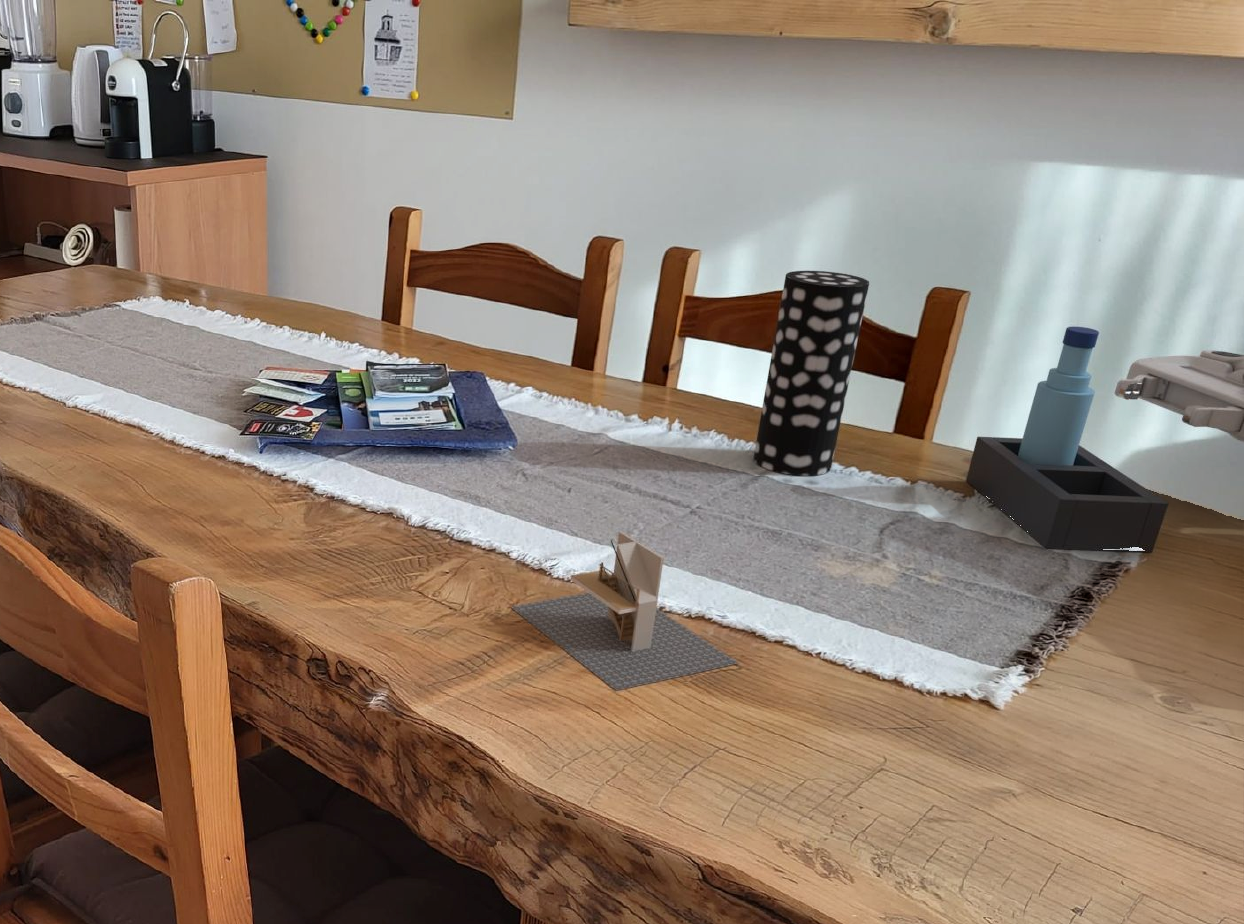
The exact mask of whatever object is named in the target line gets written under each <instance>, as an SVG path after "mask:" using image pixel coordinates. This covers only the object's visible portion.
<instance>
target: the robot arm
mask: <svg viewBox="0 0 1244 924" xmlns="http://www.w3.org/2000/svg"><path fill="white" fill-rule="evenodd" d="M1114 395H1115V396H1116V397H1118V398H1121V399H1123V400H1127V401H1129V400H1138V399H1140V400H1142V401H1145V402H1148V403H1150V404H1153V405H1155V406H1157V407H1160V408H1163V409H1166V410H1167V411H1170V412H1173V413H1176V414H1178V415H1181V416H1182V417H1181V421H1182V423H1184V424H1186V425H1188V426H1191V427H1194V428H1205V427H1206V428H1211V429H1216V430H1219V431H1222V432H1225V433H1227V434H1228V435H1230V436H1231V437H1232V438H1234V439H1235V440H1237V441H1240V442H1243V443H1244V354H1240V353H1234V352H1230V351H1229V352H1228V351H1223V350H1215V349H1212V350H1211V349H1209V350H1208V349H1206V350H1202V351H1201V352H1200V354H1199V355H1165V356H1153V357H1145V358H1144V357H1143V358H1139V359H1137V360H1134V362H1132V363H1131V365H1130V366H1129V369H1128V372H1127V375H1126V378H1125V379H1120V380H1118V382H1117V384H1116V386H1115V389H1114Z"/></svg>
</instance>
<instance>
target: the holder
mask: <svg viewBox="0 0 1244 924" xmlns="http://www.w3.org/2000/svg"><path fill="white" fill-rule="evenodd" d="M1022 439H1023V437H1019V438H1018V437H999V436H998V437H996V436H977V437H976V440H975V444H974V449H973V452H972V456H971V460H970V463H969V466H968V471H967V475H966V479H965V482H967V484H969V485H970V486H971V487H972V488H973V489H975V490H976V491H977V492H978V493H979V494H981V495H982V496H983V498H986V499H987V500H988V501H989V502H990V503H992V504H993V505H994V506H995V508H997V509H999V511H1001V512H1002V513H1003V514H1004V515H1006V516H1007V517H1008V518H1009V519H1010V520H1012V521H1013V522H1014V523H1015V524H1016V525H1017V526H1019V527H1020V528H1021V529H1022V530H1023V531H1024V532H1026V533H1027V534H1028V535H1029V536H1031V538H1033V539H1034V540H1035V541H1036V542H1038V543H1039V544H1040V545H1041V546H1043V547H1044V548H1045V549H1048V550H1052V549H1053V550H1073V551H1075V550H1080V551H1102V552H1103V551H1104V552H1127V553H1150V554H1151V553H1153V550H1154V549H1155V545H1156V542H1157V539H1158V536H1159V533H1160V530H1161V527H1162V524H1163V521H1164V518H1165V516H1166V513H1167V510H1168V507H1169V503H1168V502H1167V501H1166V500H1164V499H1163V498H1161V497H1159V496H1158V495H1157V494H1155V493H1154V492H1152V491H1150V490H1149V489H1148V488H1146V487H1144V486H1143V485H1141V484H1140V483H1138V482H1136V481H1135V480H1134V479H1132V478H1130V476H1127V475H1126V474H1124V473H1123V472H1121V471H1120V470H1118V469H1117V468H1115V467H1114V466H1112V465H1111V464H1109V463H1108V462H1106V461H1104V460H1103V459H1101V458H1099V456H1097V455H1095V454H1094V453H1092V452H1090V451H1089V450H1087V449H1086V448H1085V447H1083V446H1081V445H1080V444H1079V447H1078V450H1077V453H1076V457H1075V460H1074V463H1073V466H1070V465H1045V464H1028V463H1026V462H1025V461H1024V460H1022V459H1021V458H1020V457H1018V453H1019V450H1020V446H1021V442H1022ZM986 496H987V497H988V498H990V499H988V498H987V497H986ZM992 501H993V502H992ZM1001 509H1002V510H1001ZM1010 516H1011V517H1010ZM1012 518H1013V519H1014V520H1015V521H1014V520H1013V519H1012ZM1020 525H1021V526H1020ZM1027 531H1028V532H1027ZM1130 547H1131V548H1132V547H1139V548H1142V549H1143V550H1145V551H1129V550H1103V549H1120V548H1122V549H1123V548H1130Z"/></svg>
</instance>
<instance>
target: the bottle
mask: <svg viewBox="0 0 1244 924" xmlns="http://www.w3.org/2000/svg"><path fill="white" fill-rule="evenodd" d="M1099 335H1100V332H1099V330H1097V329H1093V328H1090V327H1084V326H1067V327H1066V329H1065V331H1064V336H1063V339H1062V344H1063V345H1062V349H1061V352H1060V356H1059V360H1058V363H1057V367H1052V368H1050V369H1049V370H1048V373H1047V377H1046V380H1042V381H1039V382H1038V383H1037V385H1036V389H1035V392H1034V396H1033V400H1032V403H1031V406H1030V410H1029V414H1028V418H1027V421H1026V424H1025V428H1024V431H1023V435H1022V438H1023V439H1022V442H1021V446H1020V450H1019V453H1018V457H1020V458H1021V459H1022V460H1024V461H1025V462H1026V463H1028V464H1045V465H1070V466H1073V463H1074V460H1075V457H1076V453H1077V450H1078V447H1079V445H1080V443H1081V441H1082V436H1083V433H1084V429H1085V426H1086V423H1087V420H1088V416H1089V413H1090V410H1091V407H1092V403H1093V400H1094V396H1095V393H1096V391H1095V389H1093V388H1091V387H1090V382H1091V380H1092V374H1091V373H1089V372H1087V369H1088V365H1089V362H1090V359H1091V355H1092V352H1093V349H1094V348H1096V344H1097V341H1098V338H1099Z"/></svg>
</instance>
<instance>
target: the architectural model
mask: <svg viewBox="0 0 1244 924" xmlns="http://www.w3.org/2000/svg"><path fill="white" fill-rule="evenodd" d="M610 543H611V546H612V549H613V551H614V554H615V559H614V568H613V572H612V570H610V569H608V568H607V567H605V566H604V562H603V561H602V562H600V563H599V564H598V565H599V570H594V571H588V572H583V573H577V574H571V575H570V581H572V582H573V583H574V584H576V585H577V586H578V587H580V588H581V589H583V590H584V591H586V592H582V593H577V594H573V595H567V596H561V597H556V598H550V599H545V600H540V601H533V602H529V603H528V602H527V603H523V604H518V605H511V606H510V608H511V609H513V611H515V612H516V613H517V614H518V615H520V616H521V617H522V618H524V619H525V620H526V621H527V622H528V623H530V624H531V625H532V626H533V627H535V628H536V629H538V630H539V631H540V632H541V633H542V634H543V635H545V636H547V638H549V639H550V640H551V641H553V642H554V643H555V644H557V645H558V646H559V647H560V648H562V650H564V651H565V652H567V653H568V654H569V655H570V656H572V657H573V658H574V659H575V660H577V661H578V662H579V663H581V665H583V666H585V668H587V669H588V670H589V671H591V672H592V673H593V674H595V676H597V677H598V678H599V679H601V680H602V681H603V682H605V683H606V684H607V685H608V686H610V687H611V688H612V689H613V690H614V691H621V690H625V689H626V690H627V689H630V688H633V687H634V688H635V687H639V686H643V685H647V684H652V683H656V682H661V681H666V680H670V679H675V678H678V677H679V678H680V677H683V676H688V675H693V674H697V673H702V672H706V671H711V670H715V669H720V668H723V667H724V668H725V667H728V666H732V665H737V664H739V662H738V661H737V660H735V659H734V658H732V657H731V656H729V655H728V654H726V652H725V653H724V652H723V651H722V650H721V649H719V648H718V647H715V646H714V645H713V644H711V643H710V642H708V641H707V640H706V639H704V638H702V637H701V636H699V635H698V634H696V633H695V632H694V631H692V630H690V629H689V628H687V627H686V626H684V625H683V624H681V623H680V622H679V621H677V620H675V619H674V618H673V617H671V616H669V615H668V614H667V613H665V612H664V611H662V610H661V609H659V608H658V607H657V606H658V597H659V592H660V586H661V579H662V574H663V573H662V572H663V566H664V558H665V557H664V556H662V555H660V554H659V553H658V552H655V551H653V550H652V549H650V548H649V547H647V546H645V545H644V544H642V543H640V542H639V541H637V540H636V539H634V538H632V537H631V536H629V535H628V534H626V533H625V532H623V531H619V532H618V537H617V544H616V548H615V544H614V542H613V540H612V539H611V540H610Z"/></svg>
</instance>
